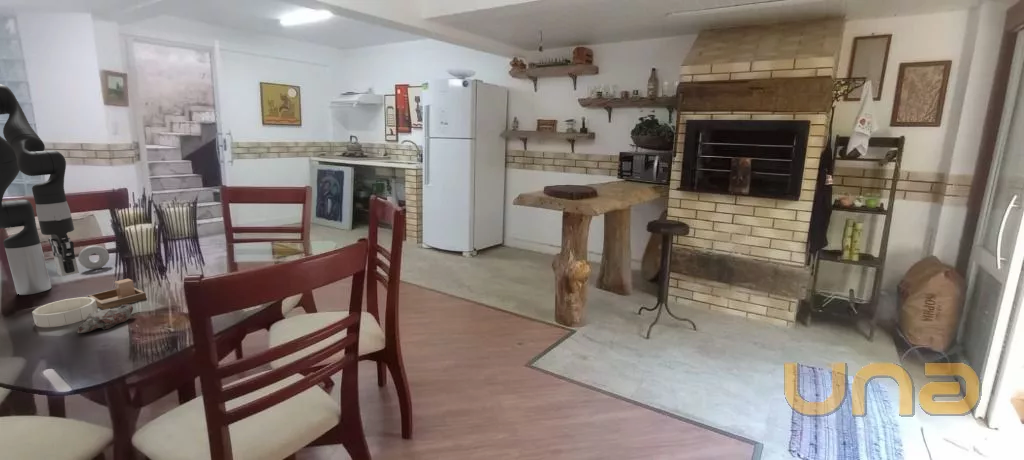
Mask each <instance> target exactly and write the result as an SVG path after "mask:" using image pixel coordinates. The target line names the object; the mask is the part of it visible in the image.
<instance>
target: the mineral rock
mask: <svg viewBox="0 0 1024 460" xmlns="http://www.w3.org/2000/svg"><path fill="white" fill-rule="evenodd" d="M133 310H134V306H133V305H132V304H130V303H128V304H124V305H121V306H117V307H113V308H109V309H105V310H102V309H101V310H98V311H97V312H96V313H90V314H89V315H88V317H87V319H85V320H84V321H83V323H81V324H80V325H79V327H78V329H77V332H76V334H79V333H80V334H82V333H85V334H86V333H90V332H92V331H95V330H97V329H102V328H103V329H102V330H105V329H106V330H109V329H111V328H113V327H114V326H116V325H119V324H121V323H125V322H126V321H128V320H129V319H130V318H131V316H132V313H133V312H134V311H133Z"/></svg>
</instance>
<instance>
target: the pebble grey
mask: <svg viewBox="0 0 1024 460" xmlns="http://www.w3.org/2000/svg"><path fill="white" fill-rule="evenodd" d="M66 256H69V254H66ZM53 259H54V263H55V267H56V271H57V275H58V276H61V277H66V276H70V275H74V274H79V267H78V264H77V259H76V257H75V259H73V265H74V269H75V271H74V272H71V273H66V272H65V270H64V265H63V261H62V259H61V256H60V255H55V256H54V255H53Z"/></svg>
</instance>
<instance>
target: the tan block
mask: <svg viewBox="0 0 1024 460" xmlns="http://www.w3.org/2000/svg"><path fill="white" fill-rule="evenodd" d="M114 286H115V289H116V292H117V296H118V298H119V299H120V298H124V297H128V296H132V295H136V294H135V289H134V287H135V284H134V280H133V279H130V278H125V279H121V280H120V279H119V280H116V281H114Z"/></svg>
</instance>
